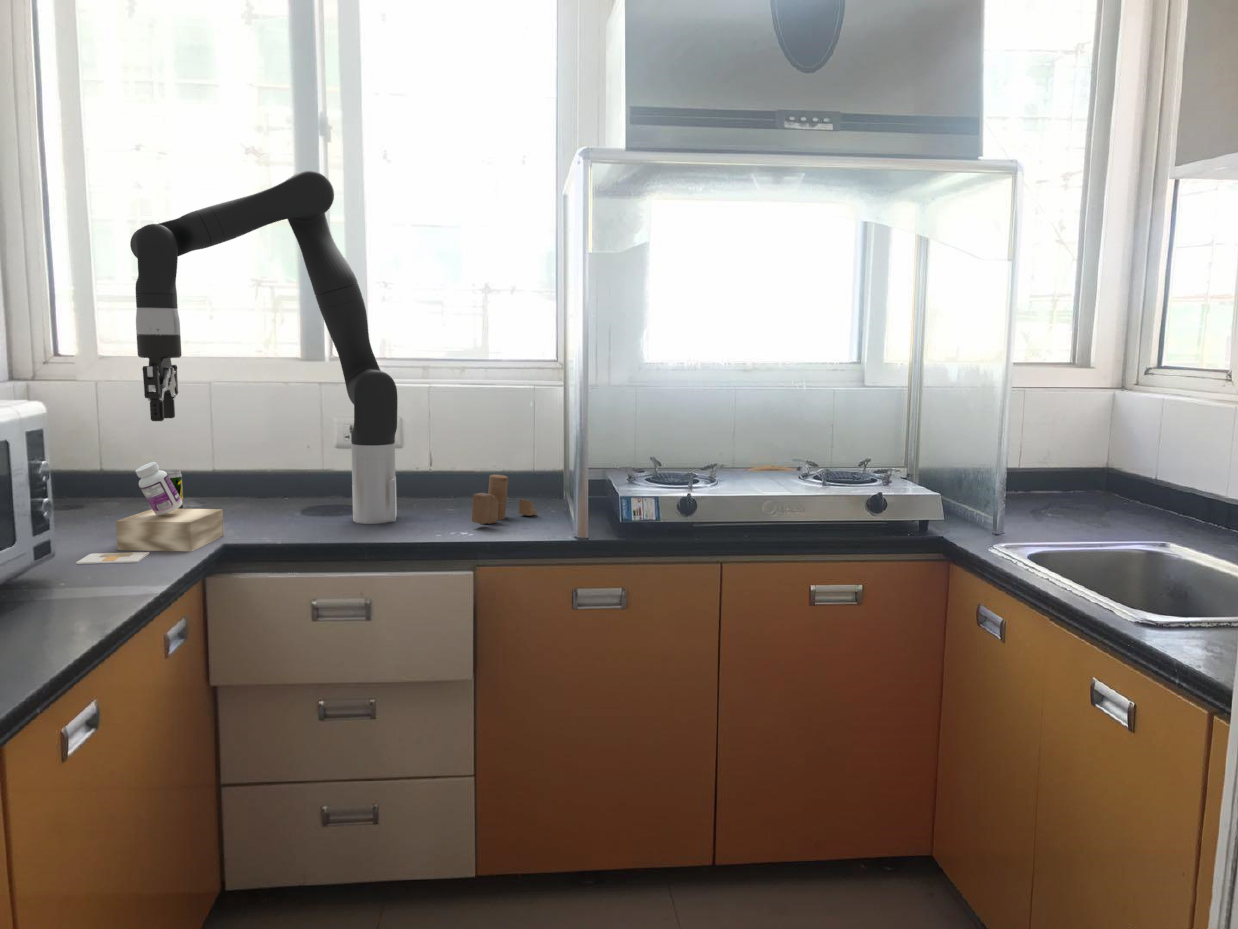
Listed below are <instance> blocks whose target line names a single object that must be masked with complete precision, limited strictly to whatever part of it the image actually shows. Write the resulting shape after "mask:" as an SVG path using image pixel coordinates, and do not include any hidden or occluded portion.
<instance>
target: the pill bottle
mask: <svg viewBox="0 0 1238 929" xmlns="http://www.w3.org/2000/svg"><path fill="white" fill-rule="evenodd" d="M162 470H163V469H162ZM162 470H160V466H159V464H158V463H157V462H156V461H152V462H148V463H146V464H143V465H141V466H140V467H138V468H137V469H135V474H136V476H137V477H138V478H140V479H139V481H138V487H139V488H140V490H141V492H142V493H143V495H144V497H145V499H146V500H147V502H148V504H149V506H150V507H151V508H150V509H153V511H154V513H155V514H156V515H158V516H160V515H165V514H167V513H170V512H172V511H174V510H176V509H177V508H179V507H180V506H181V505H182V503H183V504H184V501H183V502H182V500H181V498H180V496H179V494H178V492H177V490H176V489H175V487H174V485H173V483H172V482H171V480H170V478H169V476H168V474H167V473H166V472H165V471H162Z"/></svg>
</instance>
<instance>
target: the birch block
mask: <svg viewBox="0 0 1238 929" xmlns="http://www.w3.org/2000/svg"><path fill="white" fill-rule="evenodd" d="M115 525H116V526H115V527H116V544H117V546H116V547H117V551H139V552H142V551H143V552H146V551H147V552H151V551H152V552H153V551H154V552H156V551H159V552H194V551H196V550H197V549H199V548H201V547H204V546H206V545H208V544H210V543H213V542H214V540H215V541H216V539H217V540H218V538H219V539H220V537H221V536H223V535H224V532H225V531H224V511H223V509H221V508H219V509H218V508H216V509H215V508H212V509H211V508H184V509H176V510H174V511H172V512H170V513H167V514H165V515H160V516H158V515H156V514H155V513H154V511H153V509H152V508H150V509H147V510H144V511H142V512H139V513H137V514H133V515H130V516H127V517H124V518H121V519H117V520H116V521H115ZM223 537H224V536H223ZM221 538H222V537H221Z"/></svg>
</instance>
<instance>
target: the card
mask: <svg viewBox="0 0 1238 929" xmlns="http://www.w3.org/2000/svg"><path fill="white" fill-rule="evenodd" d="M148 555H150V551H147V552H146V551H143V552H142V551H138V552H137V551H136V552H105V553H103V552H102V553H99V552H97V553H96V552H95V553H89V554H88V555H86V556H85V557H82V558H81V559H80V560H77V561H76V562H75V565H89V564H91V565H92V564H125V563H126V564H127V563H129V564H130V563H138V562H141V560H143V559H144V558H146V557H148Z"/></svg>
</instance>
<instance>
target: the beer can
mask: <svg viewBox="0 0 1238 929" xmlns="http://www.w3.org/2000/svg"><path fill="white" fill-rule="evenodd" d="M162 471H165V472H166V473H167V474H168V476H169V478H170V480H171V482H172V483H173V485H174V487H175V489H176V490H177V492H178V494H179V496H180V498H181V500H182V502H183V503H182V505H181V506H180V507H179V508H177V509H185V507H184V490H183V489H184V488H183V475H182V473H181V472H182V470H178V469H169V470H168V469H166V470H163V469H162Z"/></svg>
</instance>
